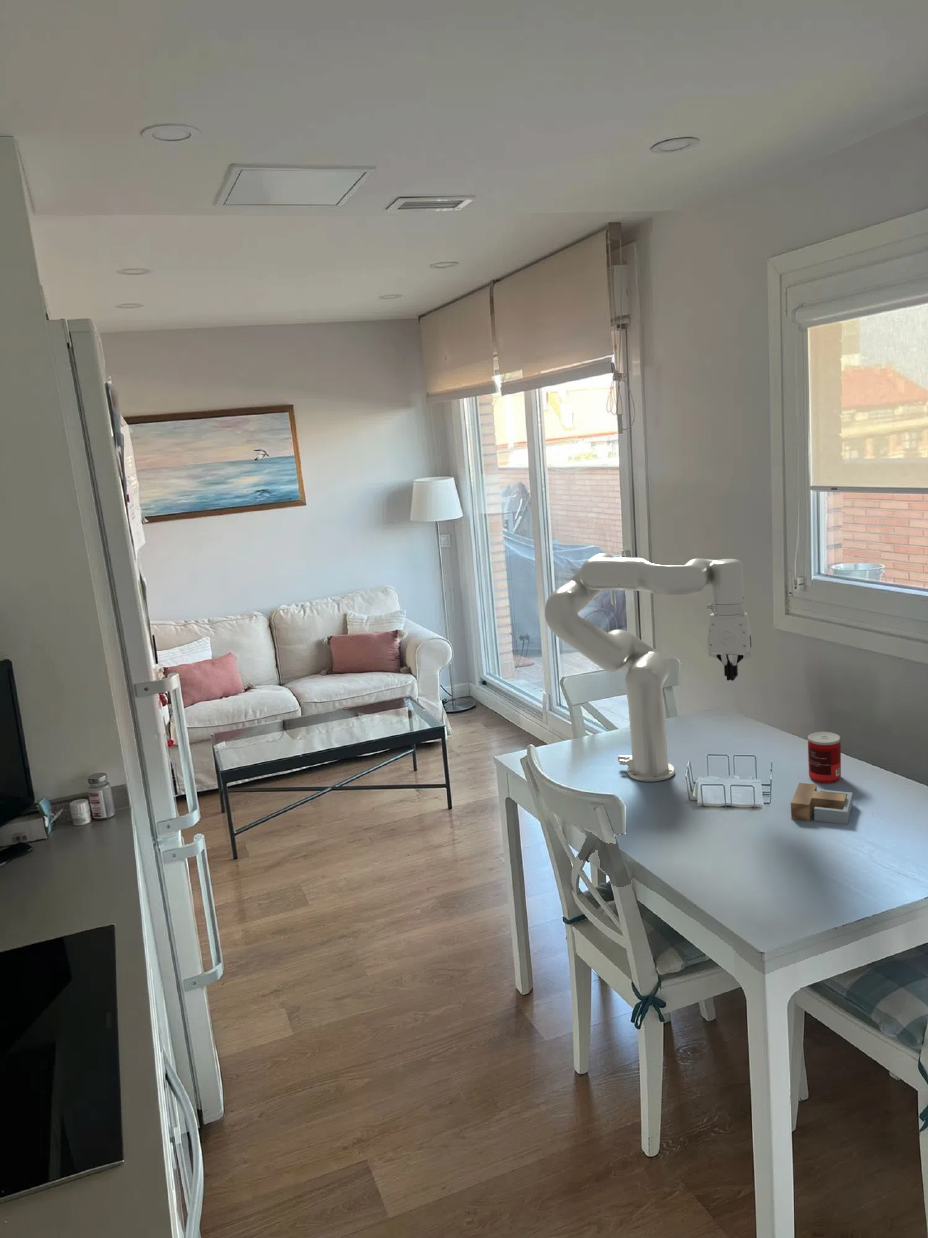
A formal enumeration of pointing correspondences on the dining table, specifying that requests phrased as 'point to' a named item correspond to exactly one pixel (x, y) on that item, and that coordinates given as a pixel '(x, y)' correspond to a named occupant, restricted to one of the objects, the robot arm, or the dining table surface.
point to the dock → (835, 810)
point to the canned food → (824, 757)
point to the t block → (813, 801)
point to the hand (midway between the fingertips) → (731, 678)
